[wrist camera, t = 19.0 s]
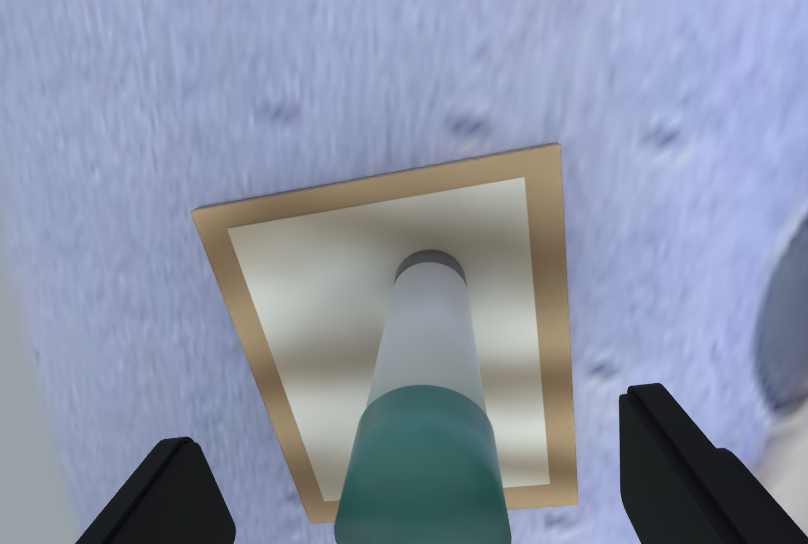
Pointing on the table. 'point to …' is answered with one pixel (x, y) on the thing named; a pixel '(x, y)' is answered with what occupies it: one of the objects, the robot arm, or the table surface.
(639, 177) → the table surface
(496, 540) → the marker
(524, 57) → the table surface
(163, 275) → the table surface
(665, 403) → the robot arm
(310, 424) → the clipboard
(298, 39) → the table surface
